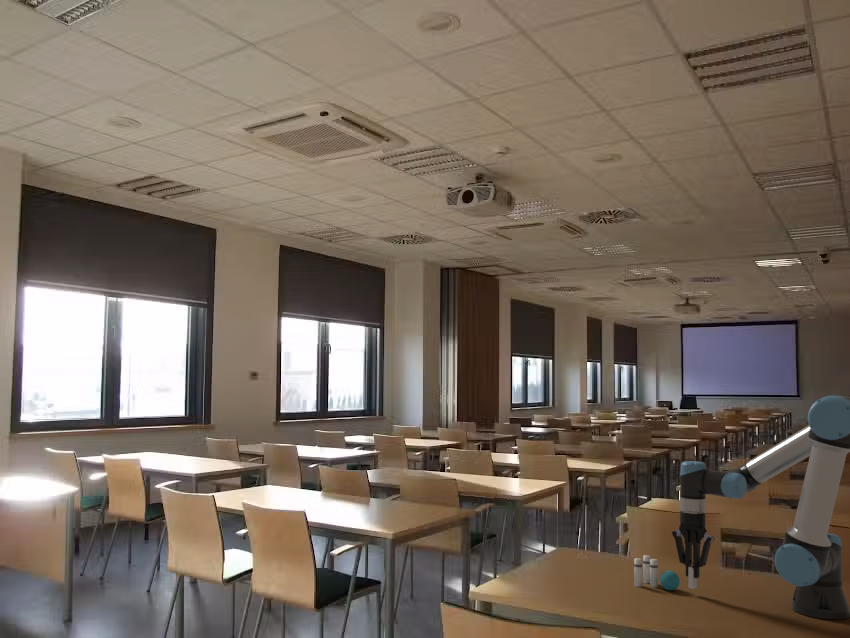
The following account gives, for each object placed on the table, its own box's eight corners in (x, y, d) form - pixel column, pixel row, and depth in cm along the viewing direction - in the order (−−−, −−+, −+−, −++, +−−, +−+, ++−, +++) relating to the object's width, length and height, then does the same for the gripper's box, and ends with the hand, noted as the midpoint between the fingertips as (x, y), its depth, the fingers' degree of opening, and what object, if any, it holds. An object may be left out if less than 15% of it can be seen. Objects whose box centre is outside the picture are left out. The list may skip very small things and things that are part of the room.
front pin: (659, 587, 245) (659, 560, 246) (653, 588, 244) (653, 561, 244) (654, 585, 247) (654, 558, 248) (648, 585, 246) (648, 559, 247)
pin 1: (643, 586, 246) (643, 559, 246) (637, 587, 244) (637, 560, 245) (638, 584, 248) (638, 557, 248) (632, 585, 247) (632, 558, 247)
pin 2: (652, 582, 250) (652, 556, 250) (646, 583, 249) (646, 557, 249) (647, 580, 252) (647, 554, 253) (641, 581, 251) (641, 555, 252)
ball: (659, 569, 246) (663, 589, 245) (657, 572, 241) (660, 592, 240) (678, 568, 244) (682, 588, 243) (676, 571, 239) (680, 591, 238)
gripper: (718, 513, 236) (718, 590, 235) (678, 506, 245) (678, 581, 244) (708, 516, 231) (707, 595, 230) (667, 509, 240) (667, 585, 239)
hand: (692, 587), depth 237 cm, fingers closed
